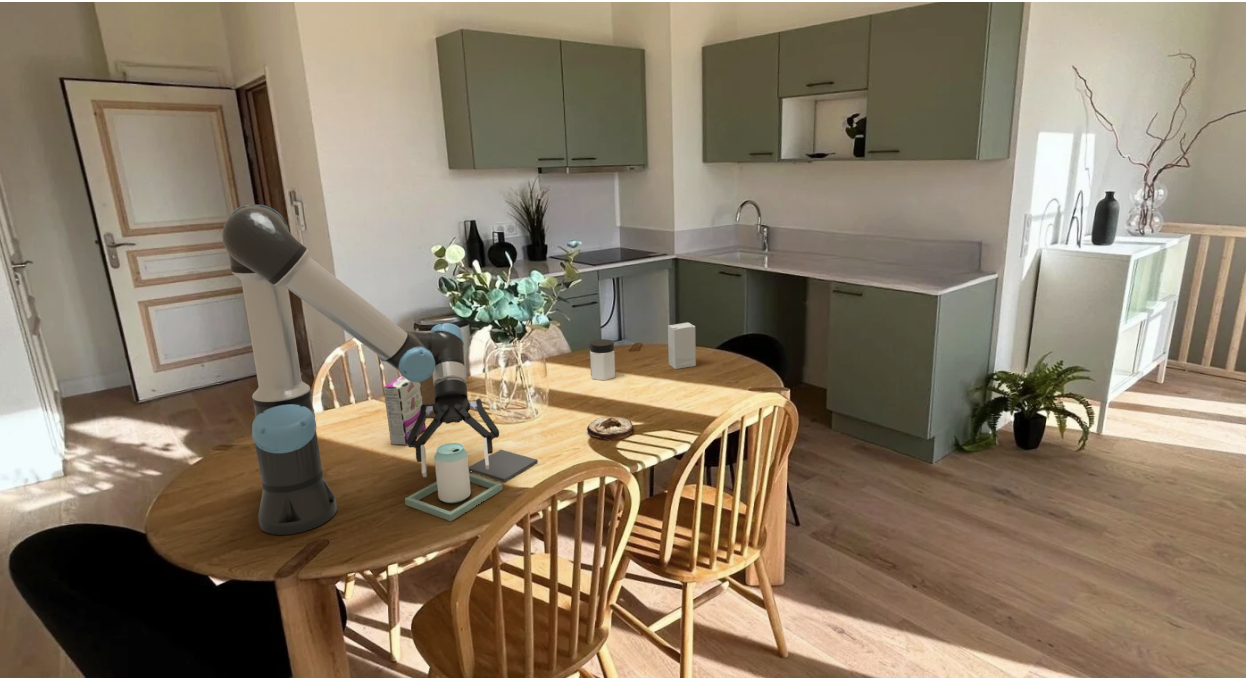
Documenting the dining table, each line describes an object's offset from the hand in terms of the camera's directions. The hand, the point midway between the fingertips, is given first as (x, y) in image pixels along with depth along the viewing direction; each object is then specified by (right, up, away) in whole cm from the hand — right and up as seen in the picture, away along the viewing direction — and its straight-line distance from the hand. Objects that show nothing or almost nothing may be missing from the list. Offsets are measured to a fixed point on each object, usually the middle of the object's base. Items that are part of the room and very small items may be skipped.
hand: (456, 471), depth 153 cm
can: (-1, -6, +2) cm, 7 cm away
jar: (+30, +16, +81) cm, 88 cm away
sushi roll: (+33, +3, +36) cm, 49 cm away
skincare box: (+58, +20, +90) cm, 109 cm away
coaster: (+8, -2, +16) cm, 18 cm away
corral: (-1, -6, +2) cm, 6 cm away
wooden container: (-19, +8, +55) cm, 59 cm away
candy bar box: (-21, +2, +35) cm, 41 cm away
